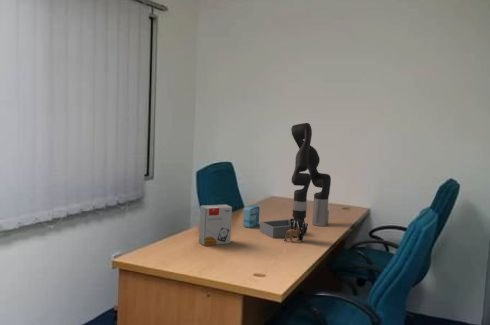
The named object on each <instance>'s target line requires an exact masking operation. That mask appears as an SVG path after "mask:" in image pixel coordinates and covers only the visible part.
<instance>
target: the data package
mask: <svg viewBox="0 0 490 325" xmlns="http://www.w3.org/2000/svg"><path fill="white" fill-rule="evenodd" d="M260 210H261V209H260V206H258V205H249V206H246V207H244V208H243V220H242V226H243V228H248V229H251V228H254V227H257V226H259V225H260Z"/></svg>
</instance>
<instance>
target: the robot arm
mask: <svg viewBox="0 0 490 325" xmlns="http://www.w3.org/2000/svg"><path fill="white" fill-rule="evenodd" d="M290 130H291V136H292V138H293V140H294V142H295V143H296V145H297V147H298V151H297V153H296V156H295V166H294V171H293V173H292V175H291V184H292V185H293V186H296V187H297V186H298V187H300V186H301V187H302V188H301V189H295V190H294V191H293V203H292V214H291V215H292V218H290V219H289V220H290V224H291V229H292V230H299V240H300V241H301V240H303V241H304V236H303V234H304V233H306V234H307V232H308V226H309V223H307V222H306V221H305V219H306V217H307V205H308V203H307V201H308V200H307V197H308V196H307V195H308V191H309V188H310V184H311V182H312V185H313V187H316V188H321V191H318V192H315V193H314V194H313V207H312V209H313V210H312V222H311V224H312V225H313V226H317V227H326V226H329V218H330V217H329V216H330V211H329V197H330V193H331V192H330V191H331V183H332V181H331V180H332V179H331V175H330V174H329V173H323V172H322V173H321V172H319V170H318V167H319V165H320V156H319V154H318V151H317V149H316V148H315V147H313V146H312V145H311V142H312V134H313V132H312V130H313V129H312V126H311V124H310V123H309V122H304V123H298V124H294V125H292V126H291V129H290ZM307 170H308V172H307V173H305V172H306V171H307ZM300 227H302V228H300ZM301 229H302V231H301ZM306 231H307V232H306ZM292 238H293V239H298V236H293V237H292ZM299 240H298V241H299Z"/></svg>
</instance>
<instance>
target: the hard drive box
mask: <svg viewBox="0 0 490 325" xmlns="http://www.w3.org/2000/svg"><path fill="white" fill-rule="evenodd" d="M199 208H200V209H199V210H200V211H199V227H198V228H199V231H198V232H199V234H198V243H200V244H201V245H203V246H213V245H226V244H231V233H232V231H231V230H232V217H233V216H232V214H233V213H232V212H233V206H231V205H229V204H211V205H210V204H209V205H208V204H207V205H200V207H199Z"/></svg>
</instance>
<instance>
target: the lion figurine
mask: <svg viewBox="0 0 490 325" xmlns="http://www.w3.org/2000/svg"><path fill="white" fill-rule="evenodd" d="M300 228H302V227H300ZM301 231H302V229H301ZM307 232H308V230H307V231H306V233H304V234H303V237H304V236H305V235H307ZM293 236H297V241H299V242H304V239H303V240H299V230H292V229H290V230H288V231H287V233H286V236H285V237H284V240H283V241H284V242H288V238H289V240H290V242H291V243H294V240H292V238H293Z"/></svg>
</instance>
